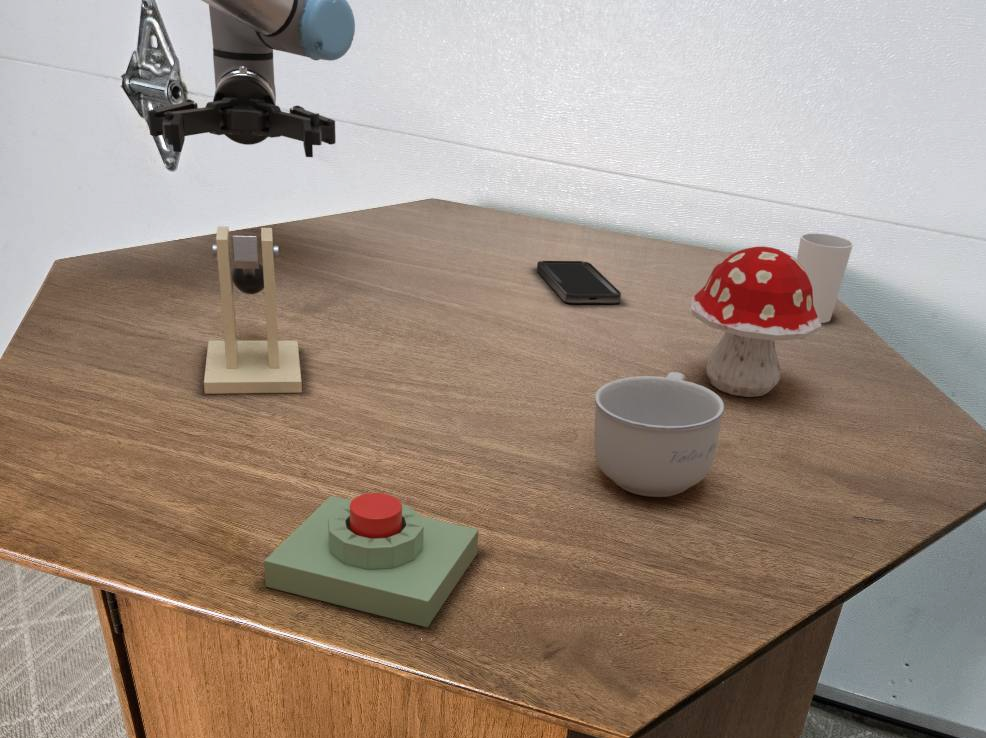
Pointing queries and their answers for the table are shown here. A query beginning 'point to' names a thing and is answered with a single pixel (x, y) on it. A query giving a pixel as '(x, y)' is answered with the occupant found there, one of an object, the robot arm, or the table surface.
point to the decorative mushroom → (754, 317)
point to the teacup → (656, 433)
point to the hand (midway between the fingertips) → (243, 141)
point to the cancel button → (375, 515)
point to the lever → (247, 265)
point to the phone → (578, 282)
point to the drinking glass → (824, 268)
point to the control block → (373, 563)
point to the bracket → (250, 361)
